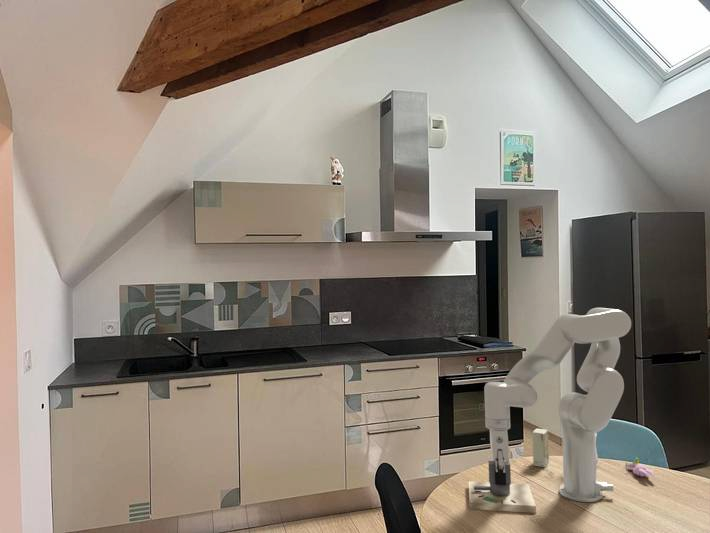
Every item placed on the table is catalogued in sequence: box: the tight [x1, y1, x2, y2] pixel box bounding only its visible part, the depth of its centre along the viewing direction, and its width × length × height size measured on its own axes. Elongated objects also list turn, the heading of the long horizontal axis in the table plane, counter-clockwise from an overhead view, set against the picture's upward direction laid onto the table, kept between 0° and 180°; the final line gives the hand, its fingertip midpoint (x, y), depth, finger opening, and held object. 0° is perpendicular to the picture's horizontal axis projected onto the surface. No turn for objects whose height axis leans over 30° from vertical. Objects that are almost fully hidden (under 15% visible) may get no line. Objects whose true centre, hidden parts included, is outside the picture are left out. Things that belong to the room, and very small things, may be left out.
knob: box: [474, 460, 512, 496], centre depth 162 cm, size 11×6×9 cm, turn 79°
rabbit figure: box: [624, 457, 655, 478], centre depth 177 cm, size 6×6×15 cm
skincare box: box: [531, 428, 550, 468], centre depth 190 cm, size 6×4×12 cm
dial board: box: [468, 480, 537, 514], centre depth 161 cm, size 19×16×2 cm
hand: (499, 479), depth 162 cm, fingers open, 6 cm apart
